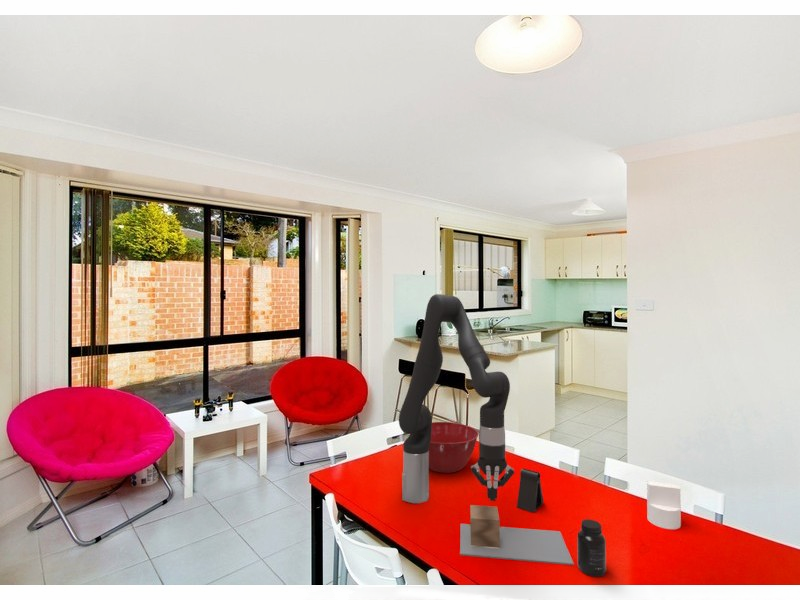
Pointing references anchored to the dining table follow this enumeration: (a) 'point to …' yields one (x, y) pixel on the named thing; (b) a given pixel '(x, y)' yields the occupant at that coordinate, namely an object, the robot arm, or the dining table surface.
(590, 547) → the supplement bottle
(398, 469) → the dining table surface
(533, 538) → the rubber mat
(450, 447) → the mixing bowl
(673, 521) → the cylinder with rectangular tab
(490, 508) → the walnut block
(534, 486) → the black coffee bag
